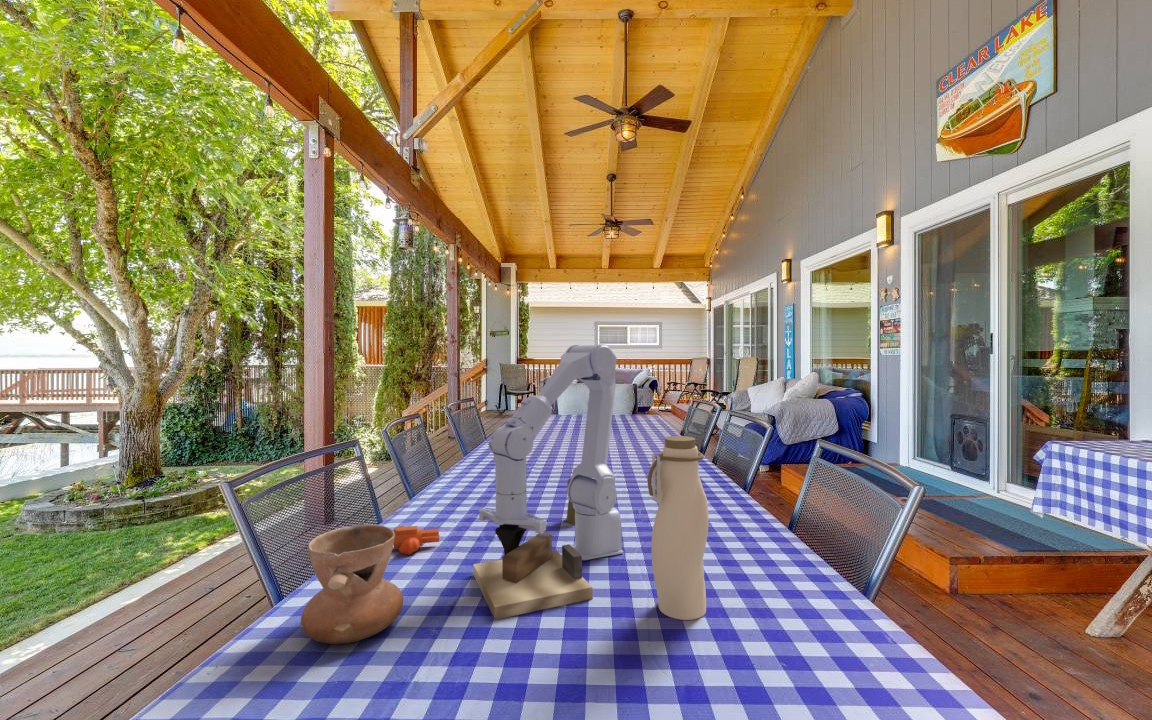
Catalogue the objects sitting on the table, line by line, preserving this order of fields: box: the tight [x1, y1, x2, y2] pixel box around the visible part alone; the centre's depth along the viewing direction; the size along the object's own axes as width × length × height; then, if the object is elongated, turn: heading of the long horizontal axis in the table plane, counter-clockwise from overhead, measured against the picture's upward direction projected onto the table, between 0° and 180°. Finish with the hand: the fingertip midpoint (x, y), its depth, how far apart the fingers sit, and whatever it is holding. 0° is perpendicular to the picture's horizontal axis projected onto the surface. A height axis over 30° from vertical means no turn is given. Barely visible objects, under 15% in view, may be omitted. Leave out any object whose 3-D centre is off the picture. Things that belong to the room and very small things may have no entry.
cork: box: [565, 476, 575, 525], centre depth 128 cm, size 6×6×11 cm
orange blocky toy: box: [392, 525, 440, 556], centre depth 109 cm, size 5×8×12 cm
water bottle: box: [647, 435, 709, 621], centre depth 82 cm, size 10×9×28 cm
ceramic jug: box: [300, 523, 404, 645], centre depth 79 cm, size 18×14×14 cm
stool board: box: [472, 544, 594, 621], centre depth 91 cm, size 17×18×6 cm
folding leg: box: [501, 532, 553, 582], centre depth 95 cm, size 14×3×4 cm, turn 153°
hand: (511, 563), depth 94 cm, fingers closed
